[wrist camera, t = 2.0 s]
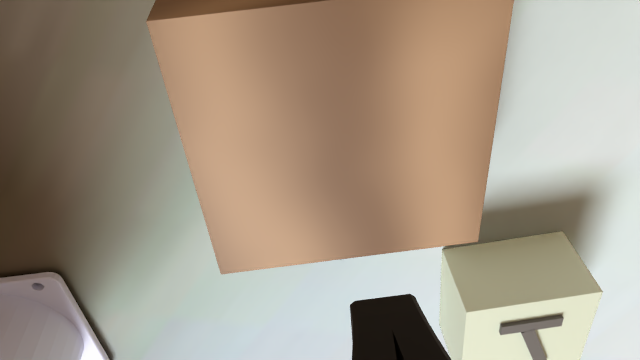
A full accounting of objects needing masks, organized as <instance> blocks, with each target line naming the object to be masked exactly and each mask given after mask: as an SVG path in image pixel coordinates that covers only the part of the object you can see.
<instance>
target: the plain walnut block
mask: <svg viewBox="0 0 640 360" xmlns="http://www.w3.org/2000/svg"><path fill="white" fill-rule="evenodd" d="M513 3H514V0H156V1H155V3H154V5H153V7H152V10H151V12H150V14H149V16H148V19H147V21H146V22H147V26H148V29H149V32H150V36H151V39H152V43H153V46H154V49H155V53H156V56H157V59H158V63H159V66H160V70H161V73H162V76H163V80H164V83H165V87H166V90H167V93H168V97H169V100H170V103H171V107H172V110H173V114H174V117H175V120H176V124H177V127H178V131H179V134H180V137H181V141H182V144H183V147H184V151H185V154H186V158H187V161H188V164H189V168H190V171H191V174H192V178H193V181H194V185H195V188H196V191H197V195H198V198H199V202H200V205H201V208H202V212H203V215H204V218H205V222H206V225H207V229H208V232H209V235H210V239H211V242H212V246H213V249H214V252H215V256H216V259H217V262H218V266H219V269H220V273H221V274H227V273H235V272H243V271H251V270H259V269H267V268H275V267H283V266H290V265H298V264H306V263H314V262H322V261H330V260H338V259H346V258H354V257H362V256H369V255H377V254H385V253H393V252H401V251H409V250H417V249H425V248H433V247H441V246H449V245H456V244H464V243H472V242H478V238H479V231H480V224H481V218H482V211H483V204H484V197H485V191H486V184H487V177H488V171H489V164H490V157H491V150H492V144H493V137H494V130H495V124H496V117H497V110H498V103H499V97H500V90H501V83H502V77H503V70H504V63H505V56H506V50H507V43H508V36H509V30H510V23H511V16H512V9H513Z"/></svg>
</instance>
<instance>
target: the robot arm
mask: <svg viewBox="0 0 640 360" xmlns="http://www.w3.org/2000/svg"><path fill="white" fill-rule="evenodd" d="M39 283H40V284H39ZM350 312H351V326H352V340H353V350H352V360H451V358H450V357H449V355H448V354H447V352H446V351H445V349H444V347H443V346H442V344H441V343H440V341H439V339H438V338H437V336H436V335H435V333H434V331H433V330H432V328H431V326H430V325H429V323H428V321H427V319H426V317H425V316H424V314H423V312H422V310H421V308H420V306H419V304H418V302H417V300H416V298H415V297H414V296H413V295H411V294H406V295H398V296H390V297H382V298H375V299H367V300H359V301H354V302H353V303H352V304H351V305H350ZM0 360H109V358H108V356H107V354H106V353H105V351H104V349H103V347H102V346H101V344H100V342H99V341H98V339H97V337H96V335H95V334H94V332H93V330H92V329H91V327H90V325H89V323H88V322H87V320H86V318H85V316H84V315H83V313H82V311H81V310H80V308H79V306H78V304H77V303H76V301H75V299H74V297H73V296H72V294H71V292H70V291H69V289H68V287H67V285H66V284H65V282H64V280H63V279H62V277H61V276H60V275H58V274H57V273H53V272H44V273H36V274H28V275H20V276H12V277H4V278H0Z"/></svg>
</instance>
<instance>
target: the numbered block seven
mask: <svg viewBox="0 0 640 360" xmlns="http://www.w3.org/2000/svg"><path fill="white" fill-rule="evenodd" d="M602 293H603V291H602V290H601V288H600V287H599V285H598V284H597V282H596V281H595V279H594V278H593V276H592V275H591V273H590V272H589V270H588V269H587V267H586V266H585V264H584V263H583V261H582V260H581V258H580V257H579V255H578V254H577V252H576V250H575V249H574V247H573V246H572V244H571V243H570V241H569V240H568V238H567V237H566V235H565V234H564V232H563V231H560V232H553V233H547V234H540V235H534V236H527V237H521V238H514V239H507V240H501V241H494V242H488V243H481V244H475V245H468V246H462V247H455V248H448V249H442V264H441V289H440V314H439V325H440V328H441V331H442V334H443V337H444V340H445V343H446V346H447V349H448V352H449V355H450V358H451V360H580V357H581V355H582V352H583V349H584V346H585V343H586V340H587V337H588V334H589V331H590V328H591V325H592V322H593V319H594V316H595V313H596V311H597V308H598V305H599V302H600V299H601V296H602Z"/></svg>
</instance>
